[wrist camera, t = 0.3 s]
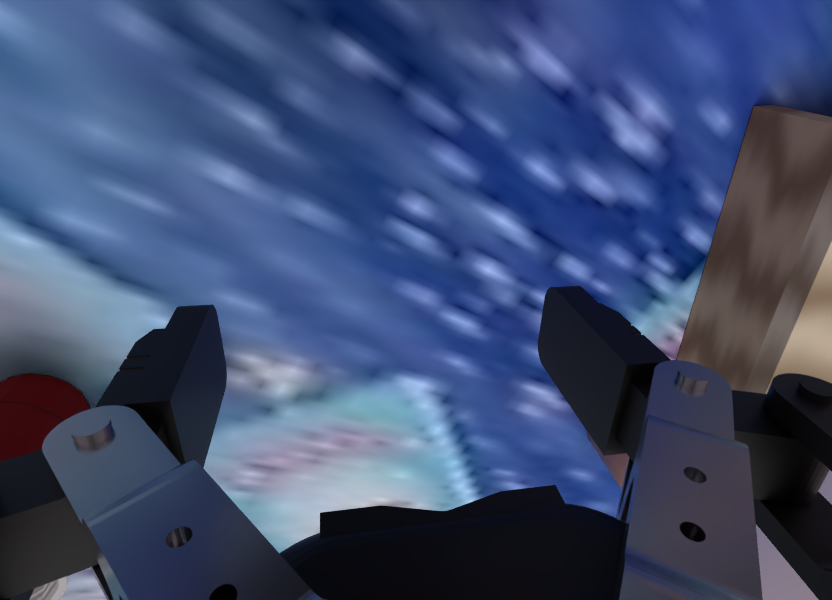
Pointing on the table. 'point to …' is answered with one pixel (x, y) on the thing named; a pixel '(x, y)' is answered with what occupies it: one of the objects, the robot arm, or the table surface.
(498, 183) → the table surface
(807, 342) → the wooden stand
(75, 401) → the plastic cup
